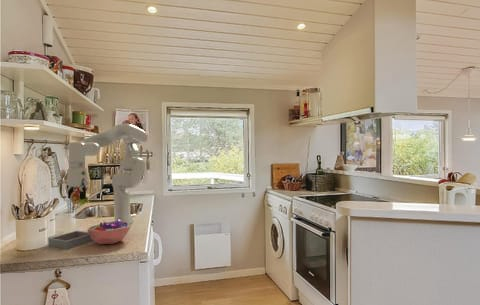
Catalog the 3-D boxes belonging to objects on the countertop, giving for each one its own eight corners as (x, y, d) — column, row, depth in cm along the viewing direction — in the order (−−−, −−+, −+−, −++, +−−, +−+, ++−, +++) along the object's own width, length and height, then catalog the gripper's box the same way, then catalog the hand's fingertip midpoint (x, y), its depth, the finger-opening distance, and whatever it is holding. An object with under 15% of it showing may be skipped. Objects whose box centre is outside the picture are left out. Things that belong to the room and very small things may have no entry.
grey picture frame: (76, 237, 156) (76, 230, 156) (94, 240, 151) (94, 233, 151) (48, 245, 143) (48, 238, 143) (66, 249, 137) (66, 241, 137)
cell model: (90, 240, 151) (89, 218, 151) (131, 235, 158) (131, 214, 158) (85, 250, 135) (85, 226, 135) (132, 245, 142) (131, 221, 142)
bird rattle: (70, 209, 153) (85, 203, 152) (62, 190, 153) (77, 183, 153) (78, 207, 159) (92, 201, 158) (70, 189, 160) (84, 182, 159)
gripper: (94, 165, 156) (94, 198, 155) (72, 165, 163) (72, 196, 163) (81, 166, 149) (81, 200, 149) (59, 165, 156) (59, 198, 156)
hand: (76, 198), depth 156 cm, fingers closed on bird rattle, 8 cm apart
